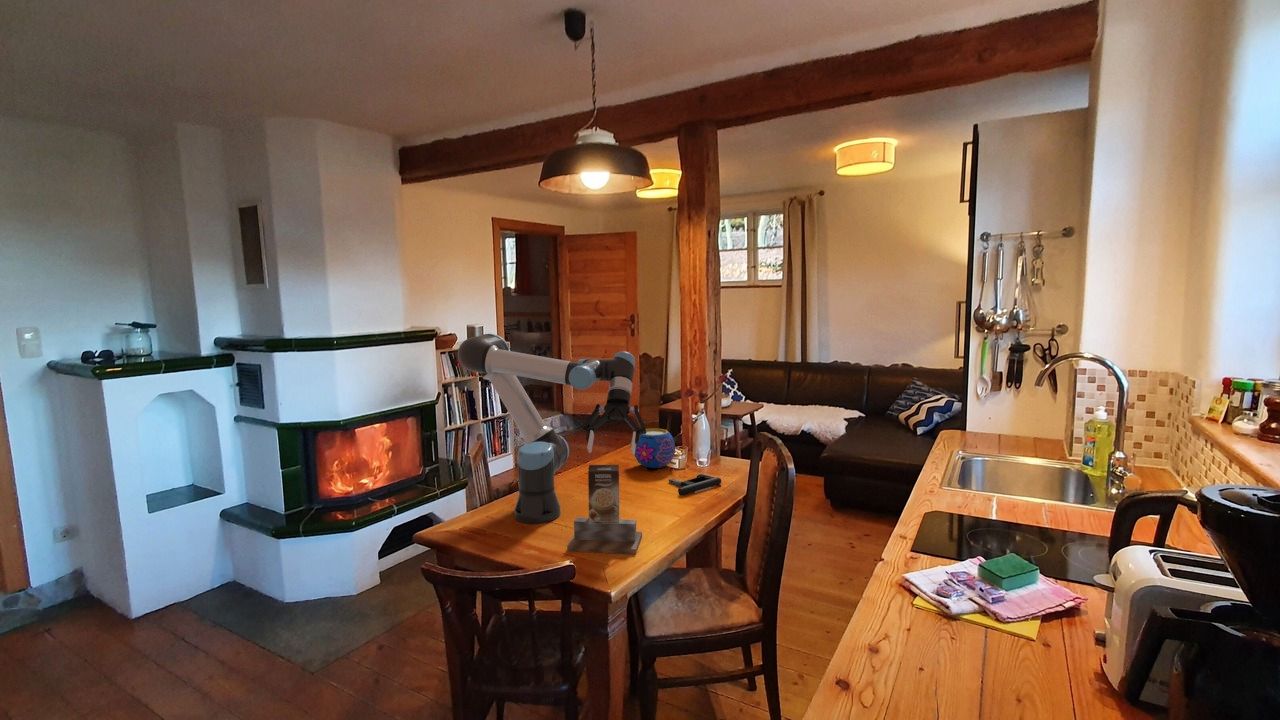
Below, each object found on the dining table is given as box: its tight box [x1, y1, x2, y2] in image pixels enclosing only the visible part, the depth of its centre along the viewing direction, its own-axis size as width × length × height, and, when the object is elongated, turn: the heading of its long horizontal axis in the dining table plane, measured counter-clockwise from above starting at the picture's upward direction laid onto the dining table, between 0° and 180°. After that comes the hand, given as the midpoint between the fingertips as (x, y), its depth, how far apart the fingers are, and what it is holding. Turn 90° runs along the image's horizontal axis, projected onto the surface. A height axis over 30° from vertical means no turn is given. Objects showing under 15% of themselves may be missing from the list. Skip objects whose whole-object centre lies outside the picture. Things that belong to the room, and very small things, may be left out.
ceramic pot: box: [630, 427, 676, 469], centre depth 248 cm, size 18×18×15 cm
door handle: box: [668, 473, 722, 496], centre depth 225 cm, size 3×20×16 cm
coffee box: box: [587, 464, 620, 524], centre depth 174 cm, size 9×6×16 cm
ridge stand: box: [566, 517, 643, 555], centre depth 176 cm, size 20×12×7 cm, turn 81°
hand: (610, 451), depth 183 cm, fingers open, 13 cm apart
